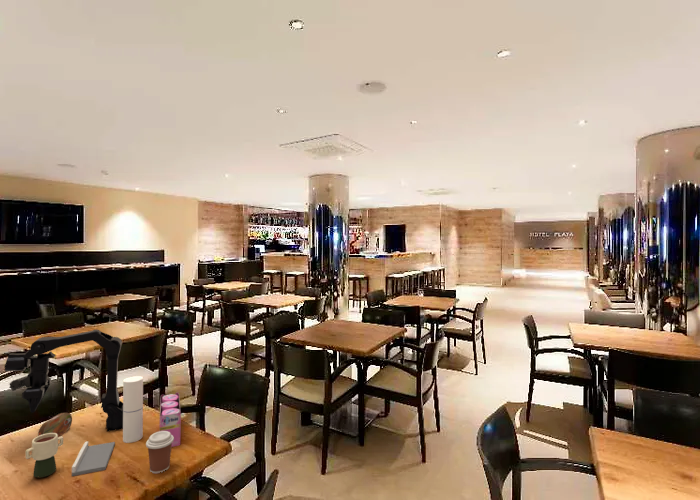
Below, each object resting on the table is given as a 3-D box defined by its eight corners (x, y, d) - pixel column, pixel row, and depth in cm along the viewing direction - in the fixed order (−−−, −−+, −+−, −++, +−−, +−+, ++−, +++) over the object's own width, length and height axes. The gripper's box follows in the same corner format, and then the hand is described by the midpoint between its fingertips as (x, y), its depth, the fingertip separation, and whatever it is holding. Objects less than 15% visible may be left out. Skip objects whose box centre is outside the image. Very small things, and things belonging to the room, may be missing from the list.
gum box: (160, 423, 168) (160, 393, 168) (179, 419, 172) (179, 390, 171) (158, 449, 147) (159, 416, 146) (180, 445, 150) (181, 412, 150)
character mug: (58, 463, 137) (58, 428, 137) (67, 469, 133) (67, 433, 133) (21, 479, 127) (21, 441, 127) (30, 486, 124) (30, 447, 124)
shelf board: (114, 444, 150) (114, 436, 150) (105, 469, 133) (105, 461, 133) (84, 449, 146) (84, 441, 146) (70, 476, 129) (70, 467, 129)
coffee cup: (139, 472, 132) (139, 439, 132) (160, 458, 141) (160, 427, 140) (158, 478, 129) (159, 444, 129) (179, 463, 137) (179, 431, 137)
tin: (43, 447, 147) (43, 426, 147) (36, 446, 147) (36, 426, 147) (72, 428, 162) (72, 409, 162) (65, 428, 162) (65, 409, 162)
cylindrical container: (124, 444, 150) (125, 383, 149) (121, 437, 155) (121, 378, 155) (144, 438, 154) (144, 379, 154) (140, 432, 160) (140, 374, 159)
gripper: (19, 365, 155) (15, 403, 154) (6, 377, 139) (1, 420, 138) (53, 363, 160) (49, 399, 159) (44, 374, 144) (40, 415, 143)
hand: (35, 408), depth 150 cm, fingers open, 9 cm apart
